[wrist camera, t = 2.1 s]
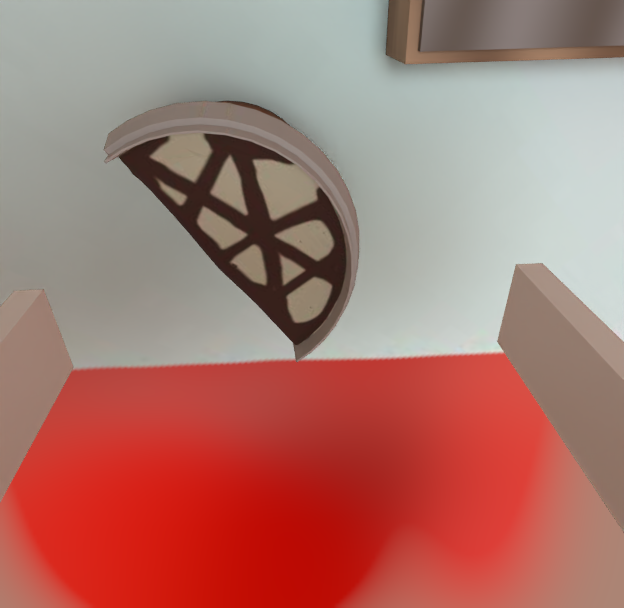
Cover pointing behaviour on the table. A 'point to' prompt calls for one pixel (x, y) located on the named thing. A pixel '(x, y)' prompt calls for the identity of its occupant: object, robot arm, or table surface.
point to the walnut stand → (503, 30)
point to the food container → (253, 206)
